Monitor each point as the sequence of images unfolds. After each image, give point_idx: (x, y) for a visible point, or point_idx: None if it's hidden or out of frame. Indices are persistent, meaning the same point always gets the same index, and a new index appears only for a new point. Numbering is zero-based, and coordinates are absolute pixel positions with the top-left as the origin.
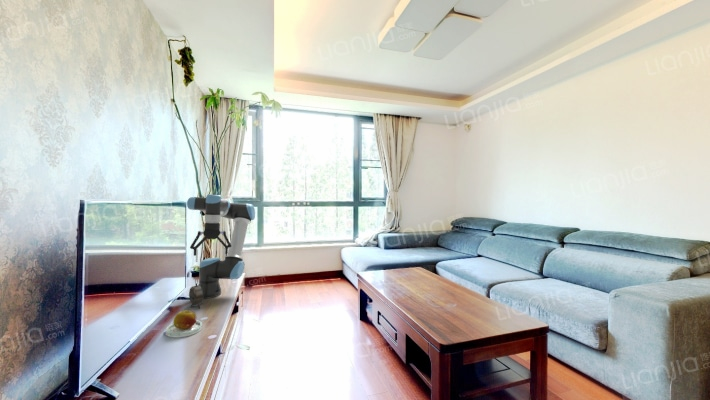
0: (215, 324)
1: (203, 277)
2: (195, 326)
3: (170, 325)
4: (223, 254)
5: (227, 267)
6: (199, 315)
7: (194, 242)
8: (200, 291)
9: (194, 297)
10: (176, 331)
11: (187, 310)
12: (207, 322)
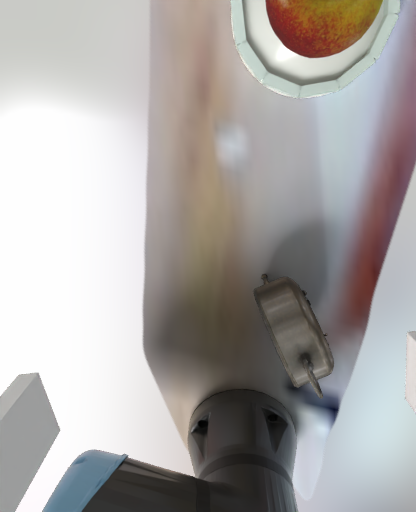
0: (173, 45)
1: (275, 491)
2: (262, 18)
3: (381, 36)
4: (7, 487)
5: None
6: (257, 187)
7: None
8: (274, 313)
9: (298, 287)
10: None
11: (325, 17)
12: (213, 84)
